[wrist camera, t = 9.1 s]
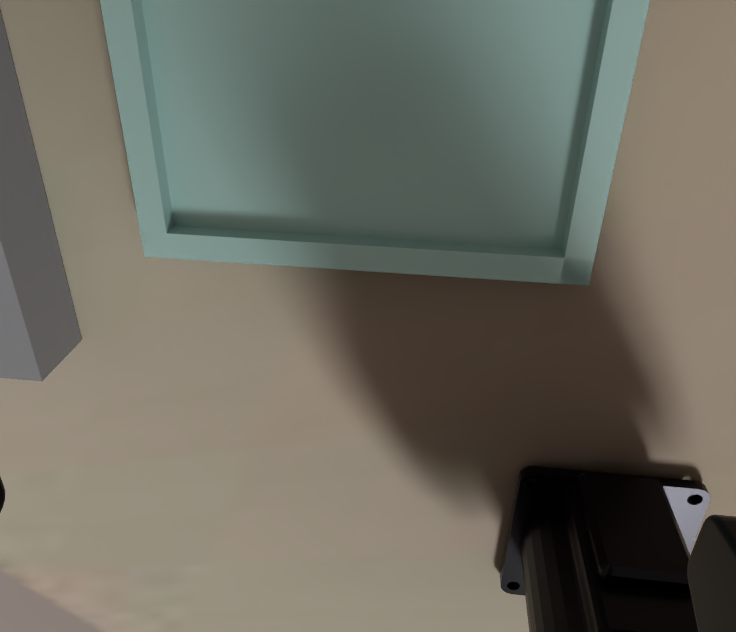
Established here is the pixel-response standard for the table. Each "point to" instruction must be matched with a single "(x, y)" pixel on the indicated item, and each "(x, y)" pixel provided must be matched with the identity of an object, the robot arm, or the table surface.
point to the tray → (375, 130)
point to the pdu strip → (28, 249)
